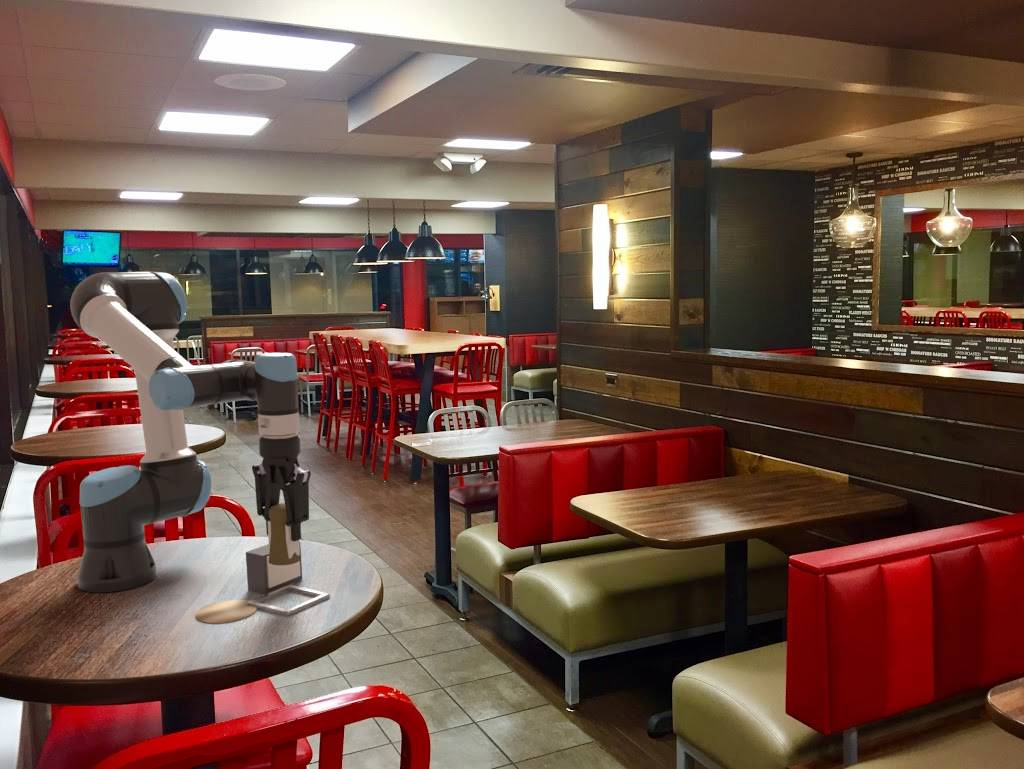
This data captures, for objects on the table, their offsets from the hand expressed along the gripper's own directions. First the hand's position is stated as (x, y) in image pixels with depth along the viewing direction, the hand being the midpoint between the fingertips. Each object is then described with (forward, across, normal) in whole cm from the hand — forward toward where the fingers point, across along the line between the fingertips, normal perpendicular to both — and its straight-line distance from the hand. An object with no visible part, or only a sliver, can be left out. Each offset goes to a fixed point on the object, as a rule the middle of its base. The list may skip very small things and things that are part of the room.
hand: (284, 554), depth 170 cm
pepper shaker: (+1, 0, 0) cm, 1 cm away
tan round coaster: (+10, -6, -10) cm, 15 cm away
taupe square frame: (+9, +1, 0) cm, 9 cm away
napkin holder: (+10, -9, +5) cm, 14 cm away
